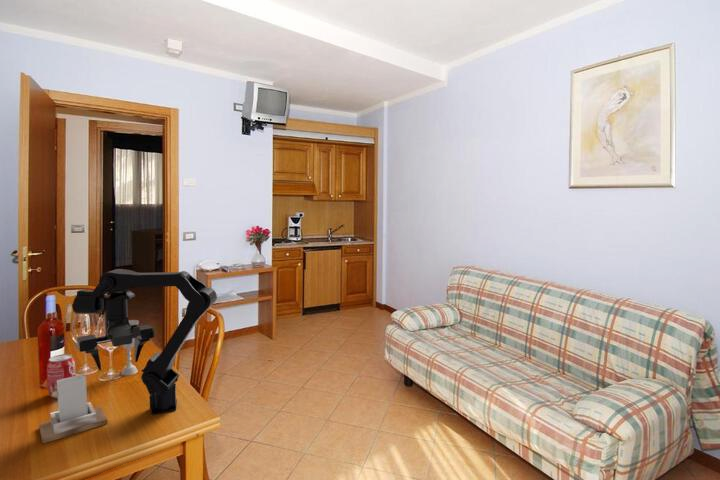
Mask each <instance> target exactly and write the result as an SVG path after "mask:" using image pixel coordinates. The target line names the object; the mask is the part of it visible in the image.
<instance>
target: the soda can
mask: <svg viewBox="0 0 720 480" xmlns="http://www.w3.org/2000/svg"><path fill="white" fill-rule="evenodd" d="M75 363H76V362H75V359H74V358H73V355H72V354H70V353H63V354H58V355H54V356H52V357H50V358H49V359H48V362H47V364H46V378H47V379H46V380H47V381H46V382H47V391H48V395H49V397H50V398H52V399H53V398H54V399H58V396H56V397H54V396H53V395H52V394H53V392H55V391H57V380H61V379H65V378H69V377H74V376H76V364H75Z"/></svg>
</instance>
